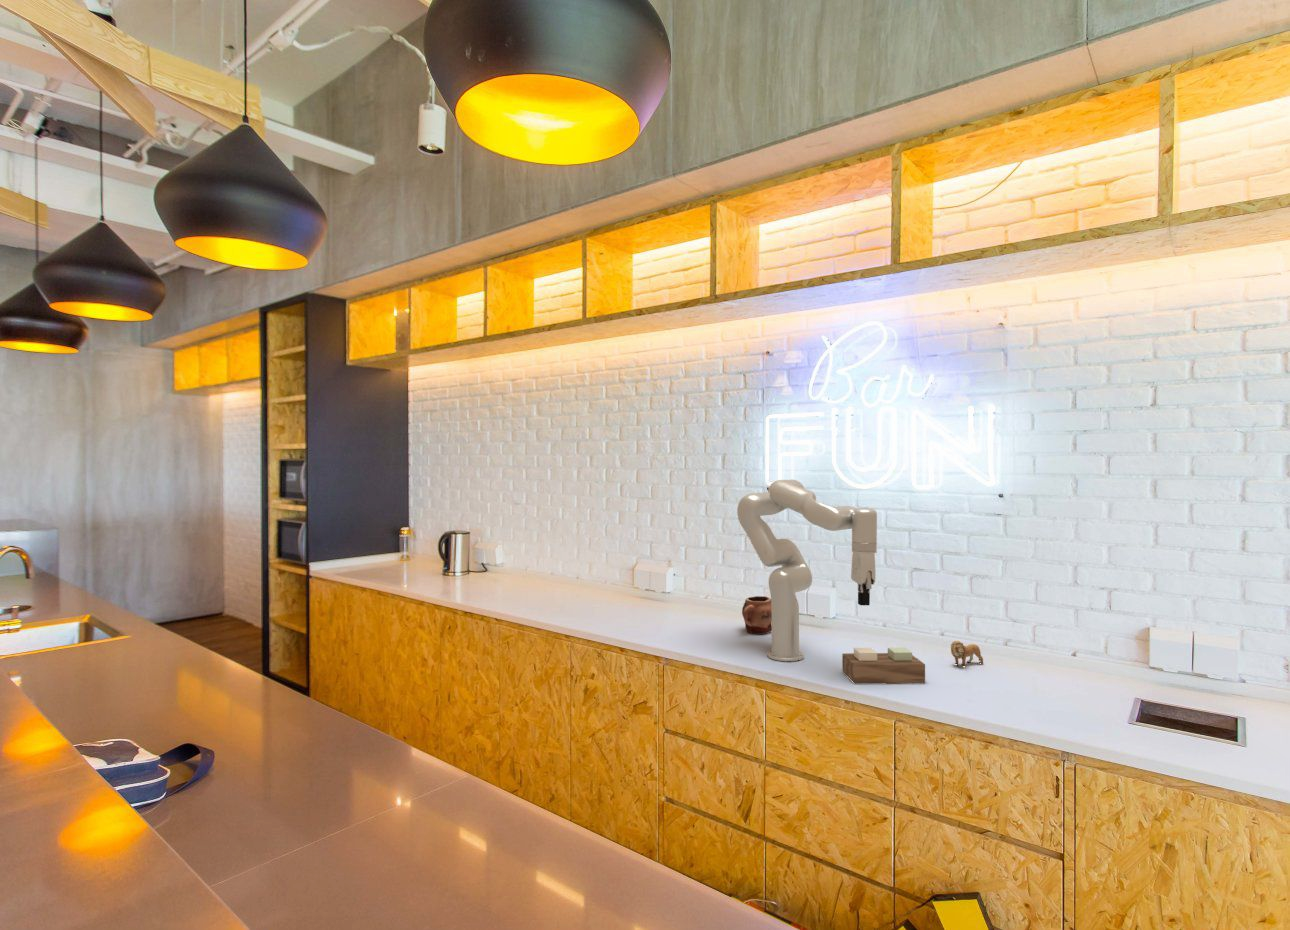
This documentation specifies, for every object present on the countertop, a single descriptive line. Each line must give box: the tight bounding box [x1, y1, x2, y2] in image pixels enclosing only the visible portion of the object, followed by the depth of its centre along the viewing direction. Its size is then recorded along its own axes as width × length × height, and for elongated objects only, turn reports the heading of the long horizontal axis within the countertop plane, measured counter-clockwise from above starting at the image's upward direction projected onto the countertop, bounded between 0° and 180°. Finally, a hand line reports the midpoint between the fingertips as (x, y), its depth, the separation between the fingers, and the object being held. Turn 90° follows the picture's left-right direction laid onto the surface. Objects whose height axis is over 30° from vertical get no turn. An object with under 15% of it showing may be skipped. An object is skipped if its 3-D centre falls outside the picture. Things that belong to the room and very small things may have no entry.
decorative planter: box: [741, 595, 772, 635], centre depth 267 cm, size 20×12×14 cm, turn 145°
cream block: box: [853, 647, 878, 661], centre depth 211 cm, size 6×6×7 cm
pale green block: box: [887, 646, 913, 661], centre depth 211 cm, size 6×6×7 cm
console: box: [841, 652, 926, 685], centre depth 211 cm, size 12×22×6 cm, turn 90°
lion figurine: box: [950, 640, 984, 667], centre depth 224 cm, size 15×5×9 cm, turn 121°
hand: (863, 604), depth 212 cm, fingers closed
